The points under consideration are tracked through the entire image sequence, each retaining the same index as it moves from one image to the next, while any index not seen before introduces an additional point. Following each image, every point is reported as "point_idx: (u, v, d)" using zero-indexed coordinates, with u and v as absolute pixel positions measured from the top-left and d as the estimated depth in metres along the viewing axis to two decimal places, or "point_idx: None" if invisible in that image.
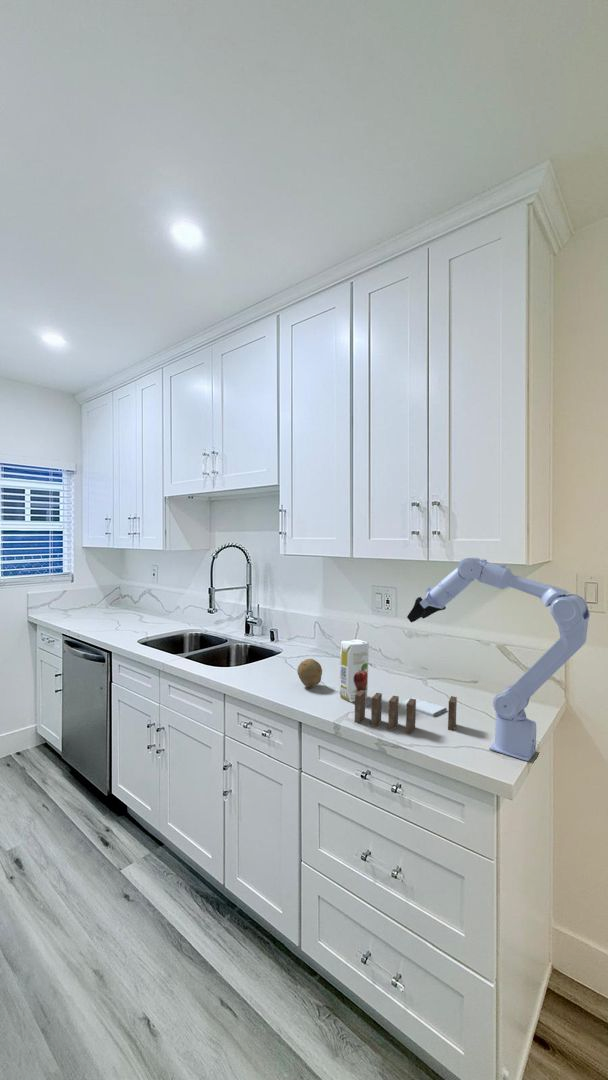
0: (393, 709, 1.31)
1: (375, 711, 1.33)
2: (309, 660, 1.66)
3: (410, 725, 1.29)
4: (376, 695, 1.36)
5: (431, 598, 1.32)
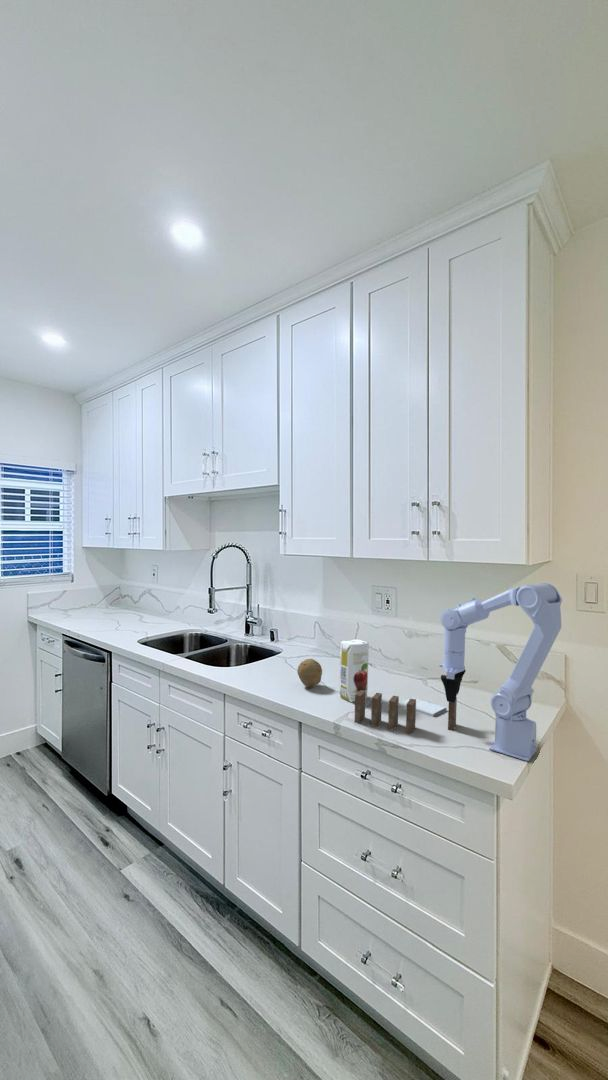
0: (393, 709, 1.31)
1: (375, 711, 1.33)
2: (309, 660, 1.66)
3: (410, 725, 1.29)
4: (376, 695, 1.36)
5: (450, 668, 1.32)
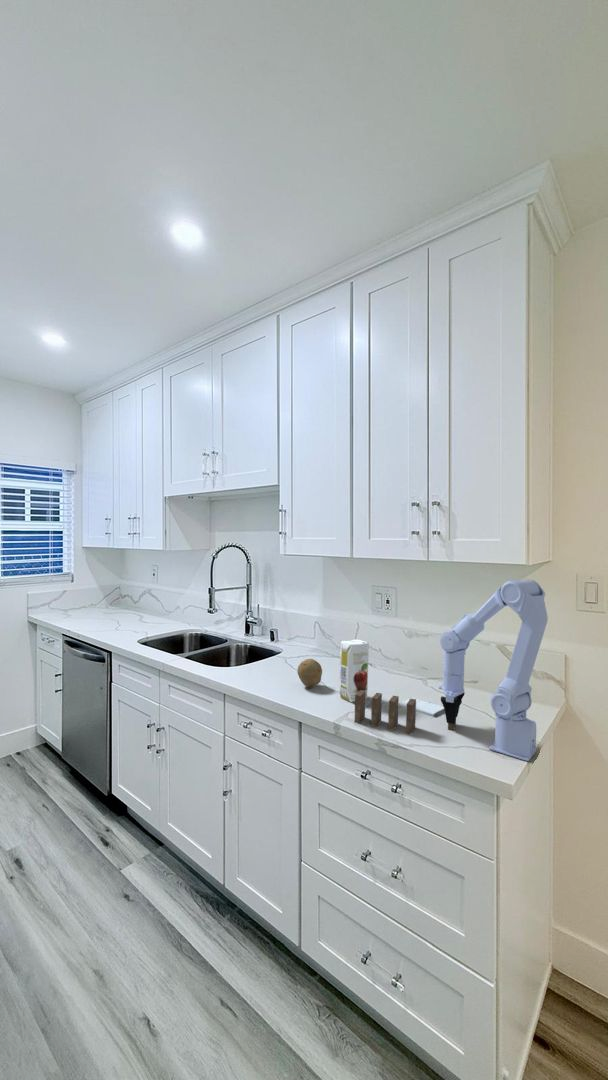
0: (393, 709, 1.31)
1: (375, 711, 1.33)
2: (309, 660, 1.66)
3: (410, 725, 1.29)
4: (376, 695, 1.36)
5: (449, 690, 1.32)
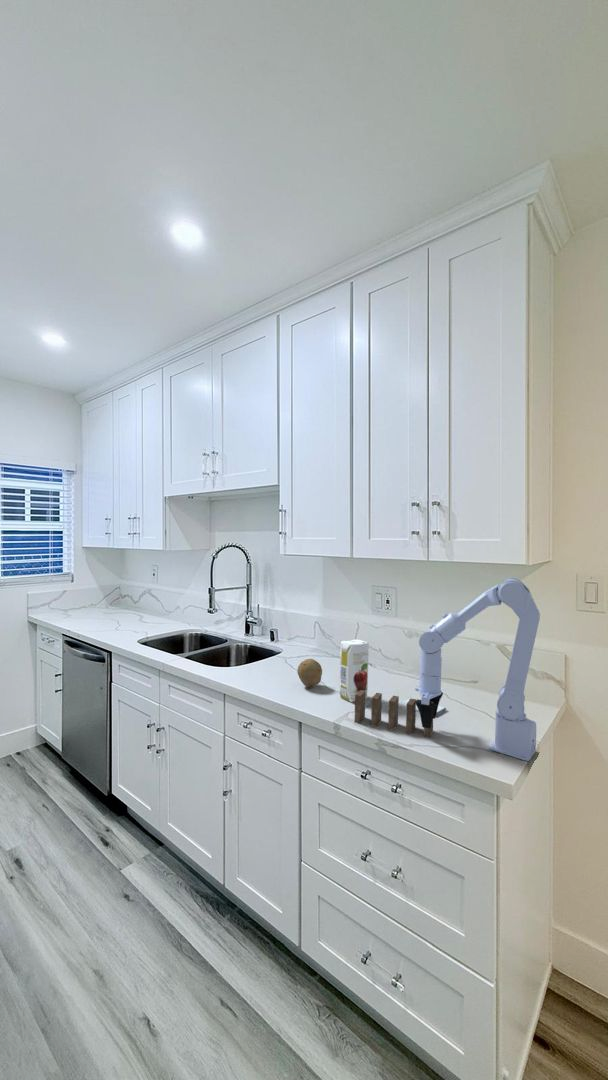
0: (393, 709, 1.31)
1: (375, 711, 1.33)
2: (309, 660, 1.66)
3: (410, 725, 1.29)
4: (376, 695, 1.36)
5: (426, 692, 1.27)
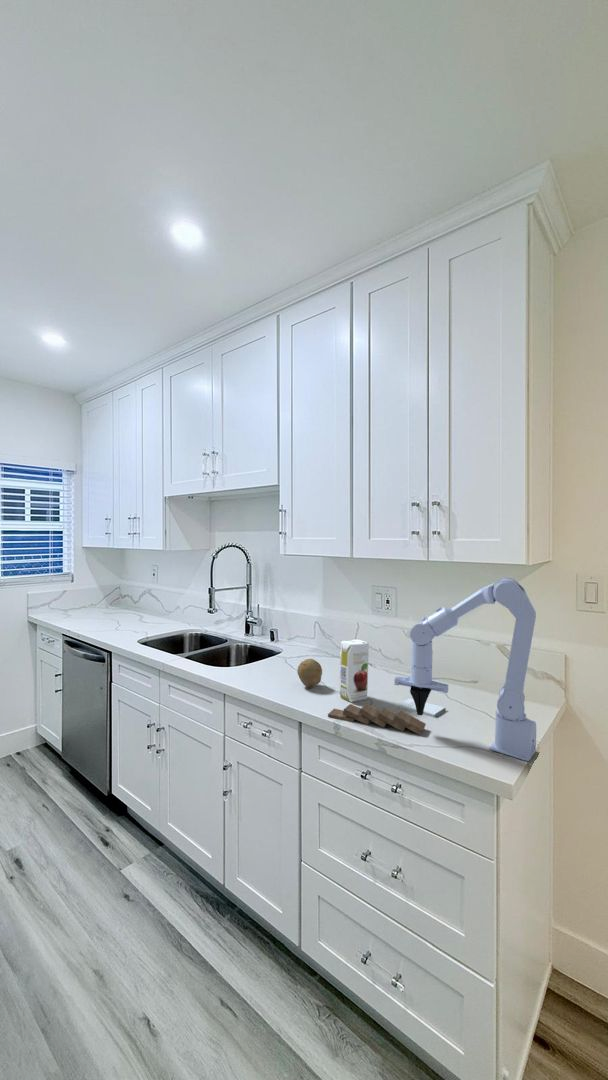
0: (367, 713, 1.35)
1: (355, 715, 1.36)
2: (309, 660, 1.66)
3: (397, 724, 1.31)
4: None
5: None
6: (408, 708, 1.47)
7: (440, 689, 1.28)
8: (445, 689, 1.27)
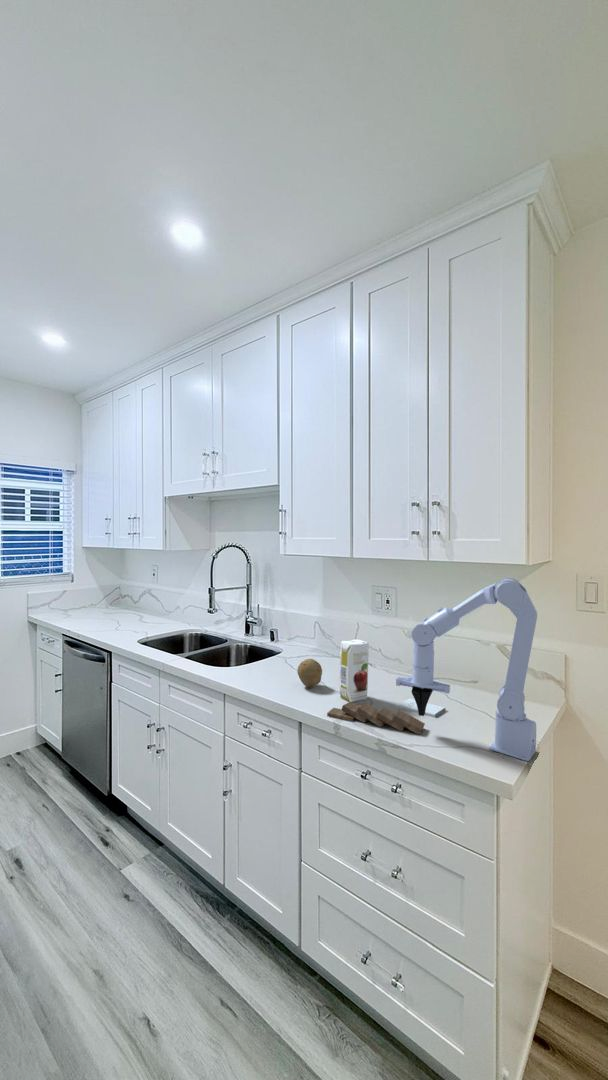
0: (364, 712, 1.35)
1: (352, 712, 1.38)
2: (309, 660, 1.66)
3: (396, 723, 1.31)
4: None
5: None
6: (408, 708, 1.47)
7: (442, 689, 1.28)
8: (447, 689, 1.27)
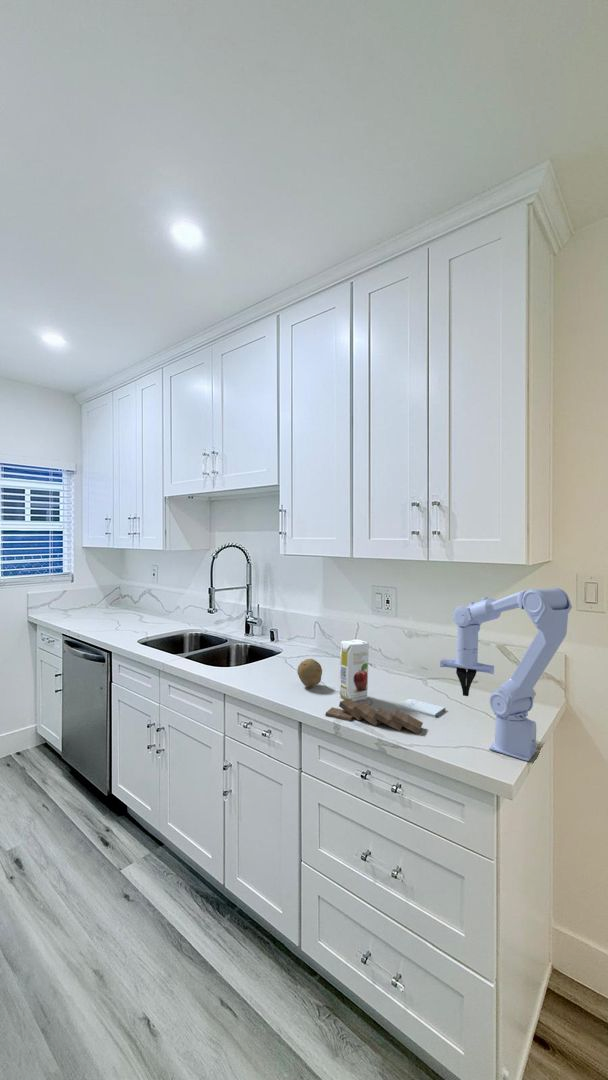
0: (360, 711, 1.36)
1: (348, 709, 1.40)
2: (309, 660, 1.66)
3: (394, 723, 1.31)
4: None
5: None
6: (408, 708, 1.47)
7: (486, 670, 1.32)
8: (491, 670, 1.30)
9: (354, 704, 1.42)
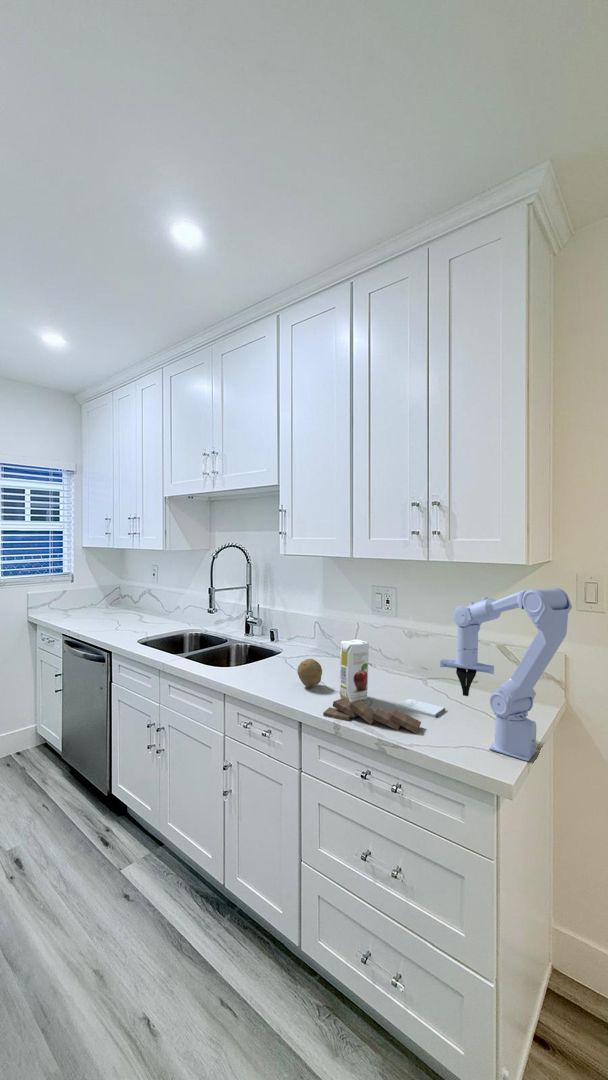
0: (356, 708, 1.37)
1: (342, 707, 1.40)
2: (309, 660, 1.66)
3: (391, 723, 1.32)
4: None
5: None
6: (408, 708, 1.47)
7: (486, 670, 1.32)
8: (491, 670, 1.30)
9: (347, 703, 1.43)
